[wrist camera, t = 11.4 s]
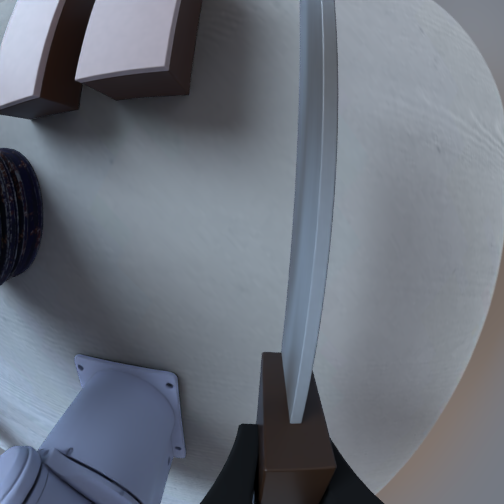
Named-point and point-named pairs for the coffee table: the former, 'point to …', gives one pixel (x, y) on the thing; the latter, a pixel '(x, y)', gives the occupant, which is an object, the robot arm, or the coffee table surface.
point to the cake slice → (139, 47)
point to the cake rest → (42, 57)
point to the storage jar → (18, 214)
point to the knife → (303, 286)
